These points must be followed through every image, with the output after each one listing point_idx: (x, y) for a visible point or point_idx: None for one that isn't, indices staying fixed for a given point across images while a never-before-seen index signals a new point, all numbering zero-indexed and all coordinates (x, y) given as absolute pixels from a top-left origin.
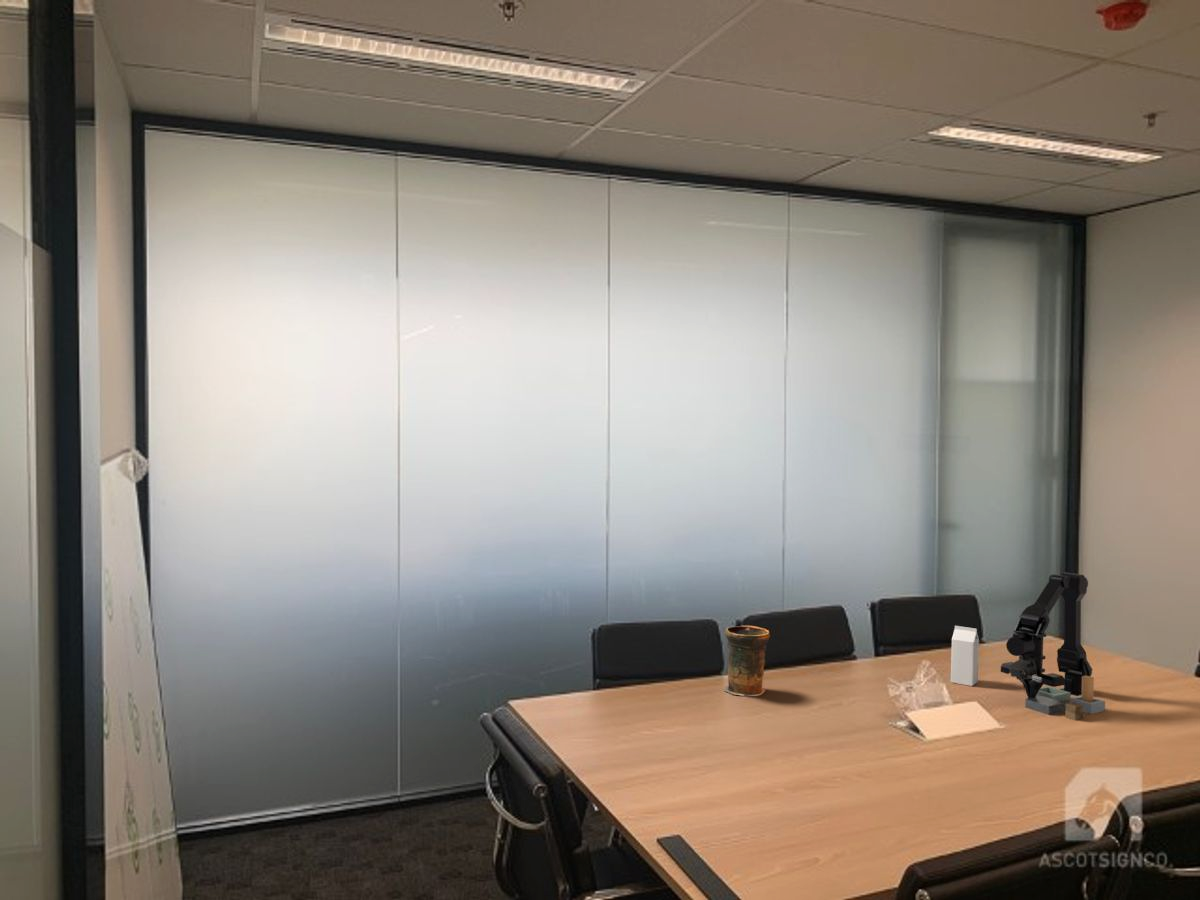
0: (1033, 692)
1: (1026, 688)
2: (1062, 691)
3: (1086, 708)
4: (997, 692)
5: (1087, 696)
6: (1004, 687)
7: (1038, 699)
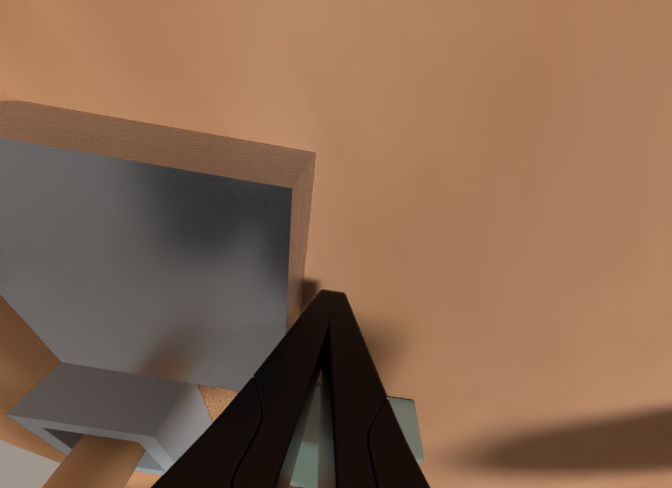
0: (254, 381)
1: (364, 434)
2: (295, 480)
3: (75, 380)
4: (652, 362)
5: (55, 475)
6: (593, 439)
7: (201, 297)
